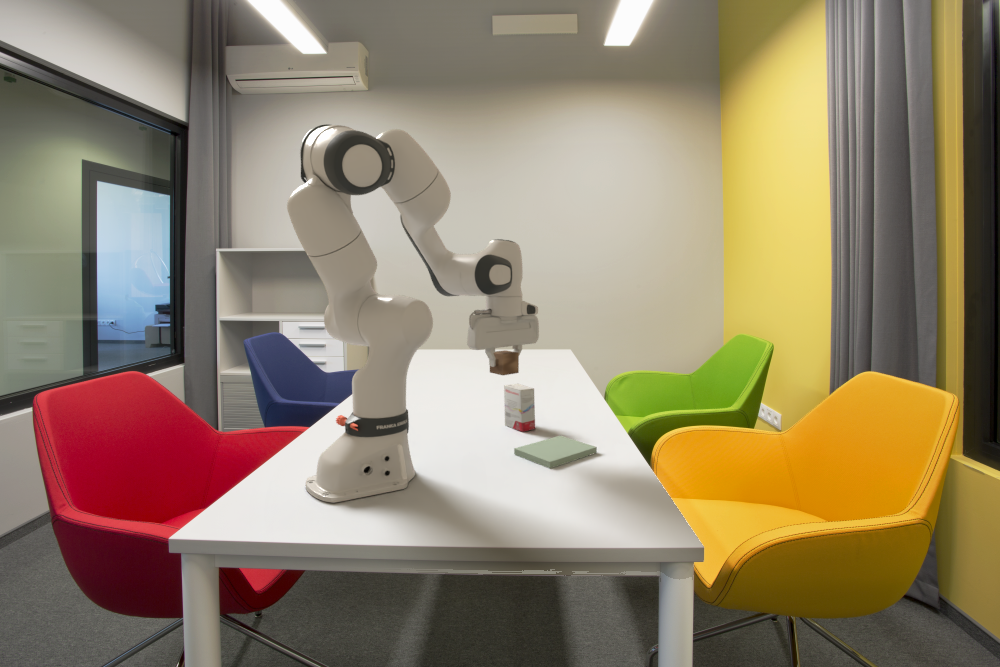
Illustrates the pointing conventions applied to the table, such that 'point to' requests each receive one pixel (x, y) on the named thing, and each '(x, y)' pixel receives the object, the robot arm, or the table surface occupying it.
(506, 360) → the walnut cube
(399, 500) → the table surface
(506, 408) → the ink box
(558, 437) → the sage board
